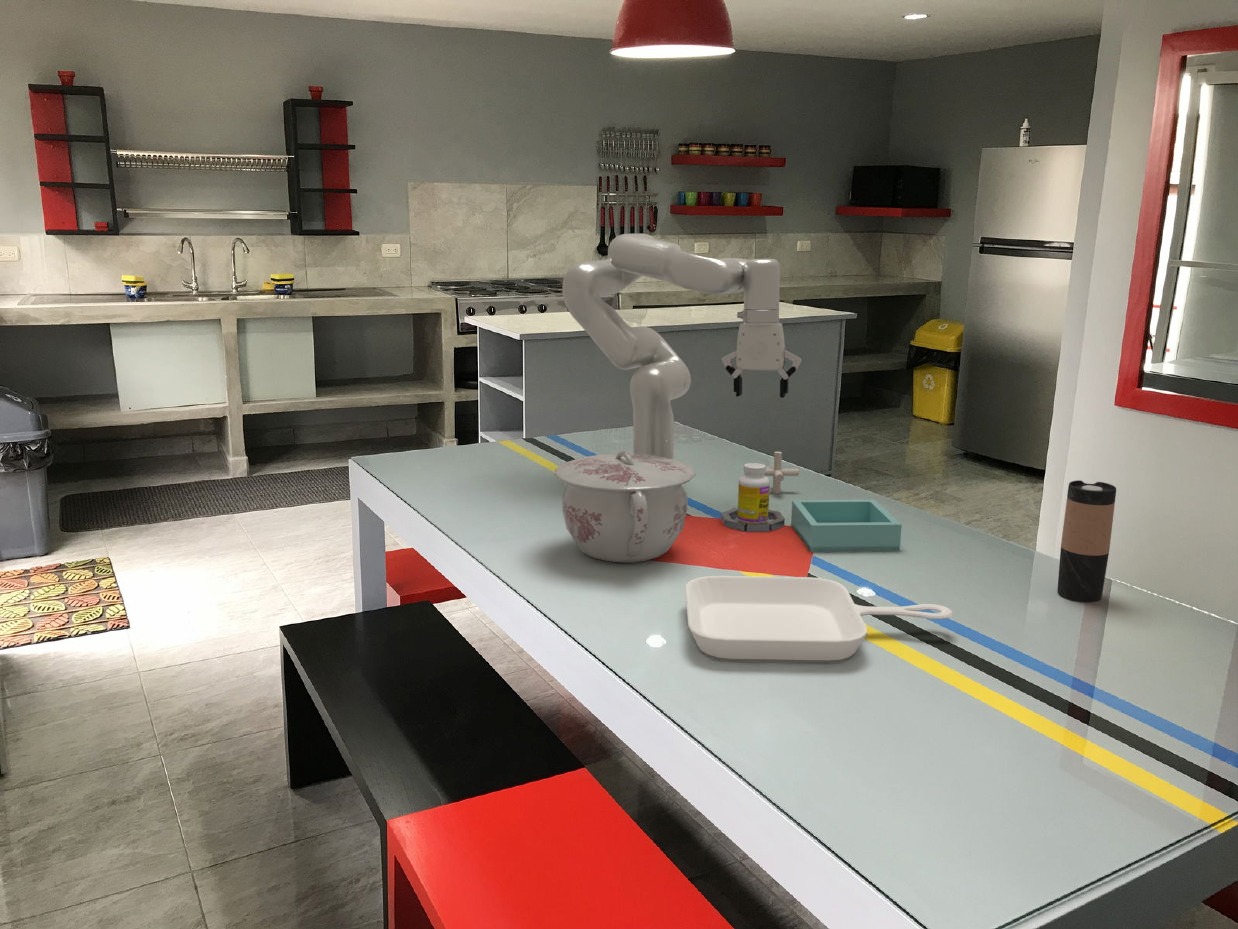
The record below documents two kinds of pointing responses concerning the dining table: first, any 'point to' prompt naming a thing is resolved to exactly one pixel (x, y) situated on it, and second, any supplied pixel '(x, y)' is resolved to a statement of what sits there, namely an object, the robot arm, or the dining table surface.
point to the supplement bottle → (753, 494)
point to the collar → (752, 527)
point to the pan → (782, 618)
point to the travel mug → (1086, 540)
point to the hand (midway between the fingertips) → (760, 396)
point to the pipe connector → (779, 472)
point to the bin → (845, 525)
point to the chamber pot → (624, 504)
